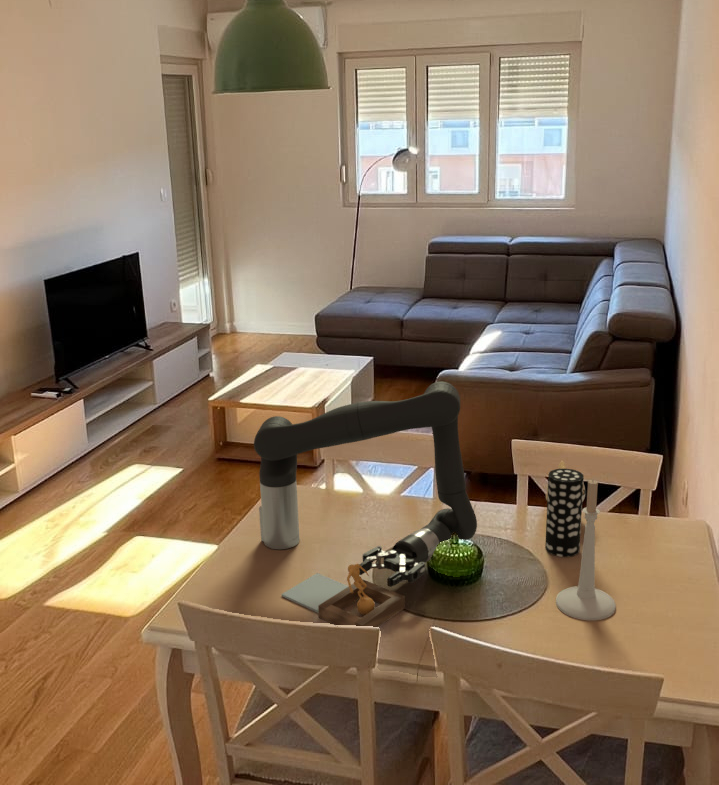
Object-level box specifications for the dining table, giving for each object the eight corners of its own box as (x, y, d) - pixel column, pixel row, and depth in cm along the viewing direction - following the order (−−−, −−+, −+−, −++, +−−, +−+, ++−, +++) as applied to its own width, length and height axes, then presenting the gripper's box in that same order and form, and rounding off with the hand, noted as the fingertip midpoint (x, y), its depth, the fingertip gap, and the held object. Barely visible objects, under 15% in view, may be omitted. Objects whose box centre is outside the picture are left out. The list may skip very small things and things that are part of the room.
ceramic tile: (281, 596, 197) (281, 594, 197) (317, 575, 206) (317, 572, 205) (320, 613, 189) (320, 611, 189) (355, 591, 198) (355, 588, 198)
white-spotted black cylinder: (542, 553, 213) (545, 479, 206) (548, 539, 220) (551, 466, 214) (576, 559, 210) (581, 484, 203) (581, 544, 217) (586, 470, 211)
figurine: (366, 625, 185) (364, 576, 181) (341, 619, 187) (339, 570, 183) (382, 606, 192) (381, 558, 188) (357, 600, 194) (356, 553, 191)
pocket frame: (318, 617, 188) (318, 605, 187) (361, 590, 199) (361, 578, 198) (362, 637, 180) (362, 625, 179) (404, 608, 191) (404, 596, 190)
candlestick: (622, 598, 192) (631, 474, 183) (606, 626, 182) (615, 497, 173) (566, 584, 199) (572, 464, 190) (547, 610, 188) (553, 485, 179)
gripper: (392, 526, 205) (348, 552, 194) (441, 543, 197) (398, 571, 185) (392, 554, 208) (349, 581, 196) (441, 572, 199) (399, 602, 187)
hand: (373, 576), depth 190 cm, fingers open, 8 cm apart
